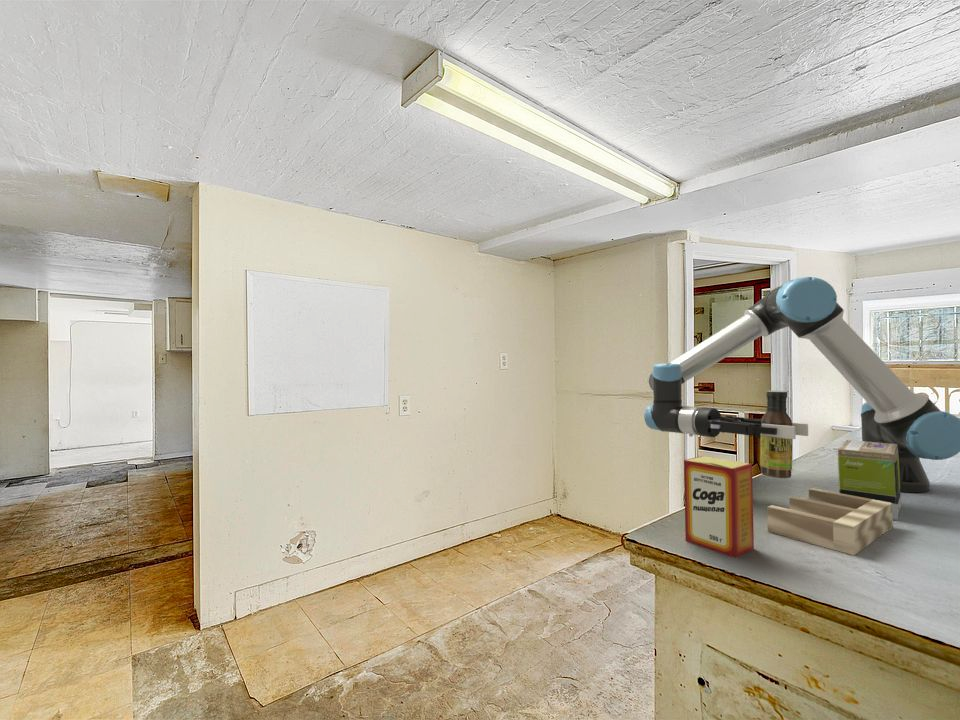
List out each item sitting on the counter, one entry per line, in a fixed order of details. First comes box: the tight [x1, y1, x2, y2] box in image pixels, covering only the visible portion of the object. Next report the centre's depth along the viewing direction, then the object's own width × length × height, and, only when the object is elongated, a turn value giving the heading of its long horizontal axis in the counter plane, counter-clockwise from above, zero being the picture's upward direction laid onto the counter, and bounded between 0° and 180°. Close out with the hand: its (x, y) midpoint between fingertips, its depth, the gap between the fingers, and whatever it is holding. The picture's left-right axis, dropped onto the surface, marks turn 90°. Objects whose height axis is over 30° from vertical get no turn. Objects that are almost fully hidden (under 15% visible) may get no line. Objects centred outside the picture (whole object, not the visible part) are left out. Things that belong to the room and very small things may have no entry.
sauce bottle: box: [759, 389, 793, 479], centre depth 104 cm, size 6×6×20 cm
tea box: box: [837, 440, 902, 521], centre depth 104 cm, size 15×10×15 cm
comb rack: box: [766, 487, 894, 556], centre depth 91 cm, size 23×14×5 cm, turn 125°
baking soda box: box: [683, 455, 755, 558], centre depth 85 cm, size 10×6×16 cm
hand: (801, 431), depth 100 cm, fingers closed on sauce bottle, 6 cm apart
